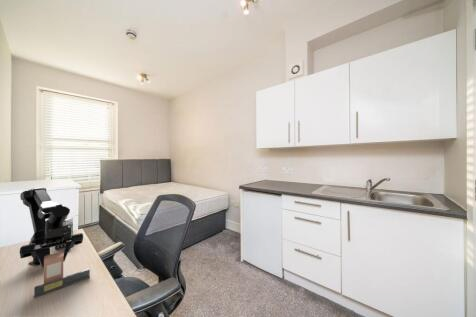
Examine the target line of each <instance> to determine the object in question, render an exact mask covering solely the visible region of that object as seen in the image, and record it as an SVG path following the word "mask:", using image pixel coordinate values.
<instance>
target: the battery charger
mask: <svg viewBox="0 0 476 317" xmlns="http://www.w3.org/2000/svg"><path fill="white" fill-rule="evenodd" d="M69 238H71V227H69V226H68V233H65V234H64V238H63V240H65V239H69ZM54 249H55V250H59V249H65V244H63V245H59V246H55V247H54Z"/></svg>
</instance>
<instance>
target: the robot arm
mask: <svg viewBox="0 0 476 317" xmlns="http://www.w3.org/2000/svg"><path fill="white" fill-rule="evenodd" d="M20 200H21V201H22V204H23V205H24V206H25V207H27V208H28V209H29V215H30V219H31V223H32V227H33V235H32V236H31V238H30V241H29V243H28V244H23V245H22V246H20V248H19V256H20V259H24V258H30V257H31V258H32V261H29V262H28V264H29V265H32V266H40V265H41V267H42V269H44V257H45V256H46V255H50V254H51V248H55V246H59V245H63V244H65V248H64V250H63V256H64V258H63V263H65V261H66V258H67V256H68V254H69V252H70V250H71V249H72V248H74V247H75V246H77V245H81V244H82V243H84V242H83V241H84V240H83V239H84V234H83V233H82V232H81V233H80V232H79V233H75V234H74V233H73V235H71V238H69V239H65V240H63V238H64V234H65V233H68V225H65V226H63V222H64V221H65V220H66V218H67V217H69V215H70V212H71V210H70V208H69V207H67V206H63V204H62V203H61V204H59V203H58V202H56V201H53V200H52V198H51V197H50V195H49V193H48V192H47V188H46V187H43V186H42V187H33V188H30V189H28V190H23V191H22V192H21V193H20Z"/></svg>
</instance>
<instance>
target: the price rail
mask: <svg viewBox="0 0 476 317" xmlns="http://www.w3.org/2000/svg"><path fill="white" fill-rule="evenodd" d="M90 271H91V270H90V268H87V269H84V270H81V271H78V272H75V273H73V274H69V275H66V276H63V278H60V279H57V280H54V281H51V282H48V283H45V284H44V283H43V284H39V285H36V286H34V289H33V298H34V299H35V298H38V297H40V296H43V295H46V294H49V293H51V292H54V291H57V290H59V289H63V288H65V287H67V286H71V285H73V284H76V283H80V282H81V281H85V280H87V279H90V278H91V277H90V276H91V275H90V274H91V272H90Z"/></svg>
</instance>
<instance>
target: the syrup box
mask: <svg viewBox="0 0 476 317" xmlns="http://www.w3.org/2000/svg"><path fill="white" fill-rule="evenodd" d="M65 225H68V226H69V227H71V235H74V218H73V217H71V216H70V217H69V216H67V218H66V220H65V221H64V222H63V226H65Z"/></svg>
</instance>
